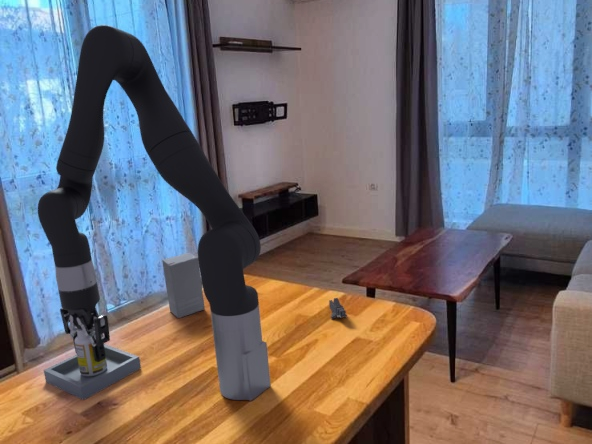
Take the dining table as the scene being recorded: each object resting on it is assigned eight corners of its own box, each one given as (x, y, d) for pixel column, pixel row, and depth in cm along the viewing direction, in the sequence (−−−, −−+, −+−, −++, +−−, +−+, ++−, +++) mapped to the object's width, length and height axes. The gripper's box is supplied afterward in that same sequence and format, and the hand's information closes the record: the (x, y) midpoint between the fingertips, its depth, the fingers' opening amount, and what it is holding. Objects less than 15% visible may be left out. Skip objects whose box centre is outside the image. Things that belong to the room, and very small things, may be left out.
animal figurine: (323, 314, 137) (321, 295, 136) (339, 311, 138) (337, 292, 137) (336, 324, 125) (333, 303, 125) (353, 321, 126) (351, 301, 126)
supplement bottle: (110, 363, 114) (103, 320, 112) (103, 376, 108) (96, 331, 106) (84, 366, 113) (77, 323, 111) (76, 379, 108) (68, 334, 106)
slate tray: (141, 368, 112) (139, 356, 112) (83, 400, 101) (80, 387, 101) (103, 353, 120) (101, 342, 120) (45, 382, 109) (43, 370, 109)
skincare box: (196, 303, 147) (189, 251, 143) (206, 311, 141) (199, 256, 138) (168, 312, 142) (160, 257, 139) (177, 320, 137) (169, 263, 133)
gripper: (114, 282, 105) (126, 356, 109) (74, 273, 113) (87, 342, 117) (80, 294, 99) (94, 372, 103) (41, 284, 107) (56, 356, 111)
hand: (90, 356), depth 110 cm, fingers open, 6 cm apart
